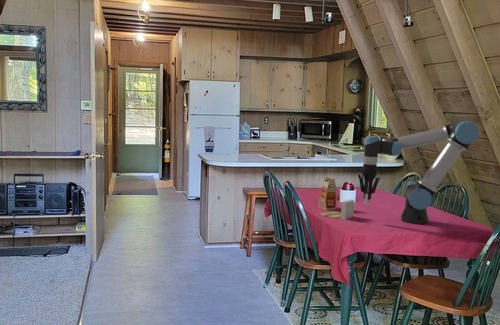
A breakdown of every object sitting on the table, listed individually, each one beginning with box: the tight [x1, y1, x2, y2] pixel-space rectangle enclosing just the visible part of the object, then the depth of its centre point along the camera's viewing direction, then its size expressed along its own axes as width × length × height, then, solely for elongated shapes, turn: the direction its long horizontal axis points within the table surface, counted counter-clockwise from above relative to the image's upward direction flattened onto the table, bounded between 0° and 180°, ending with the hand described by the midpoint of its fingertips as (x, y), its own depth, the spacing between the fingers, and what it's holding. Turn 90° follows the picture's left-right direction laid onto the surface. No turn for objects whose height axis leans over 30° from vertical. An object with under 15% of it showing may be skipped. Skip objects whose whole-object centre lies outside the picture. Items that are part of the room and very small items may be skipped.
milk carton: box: [318, 176, 338, 211], centre depth 304 cm, size 9×9×20 cm
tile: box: [340, 199, 355, 220], centre depth 280 cm, size 3×10×10 cm, turn 141°
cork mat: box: [318, 210, 341, 220], centre depth 287 cm, size 12×14×1 cm
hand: (366, 204), depth 272 cm, fingers closed
